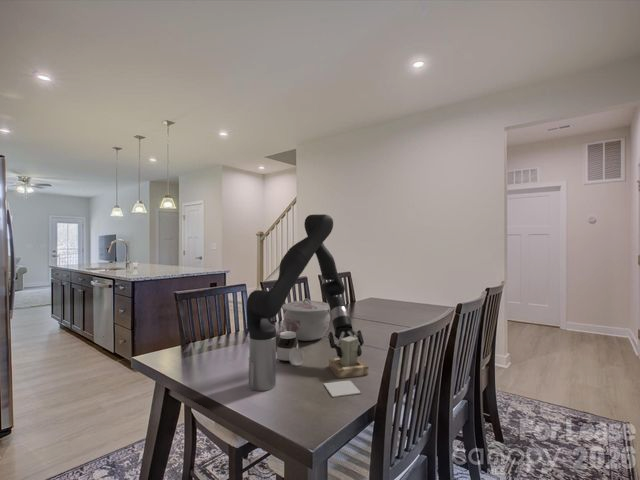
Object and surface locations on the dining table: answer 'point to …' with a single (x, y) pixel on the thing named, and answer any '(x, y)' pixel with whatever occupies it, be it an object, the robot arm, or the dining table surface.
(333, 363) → the holder collar
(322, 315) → the chamber pot
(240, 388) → the dining table surface
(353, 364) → the skincare box
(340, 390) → the mat
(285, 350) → the spread jar
